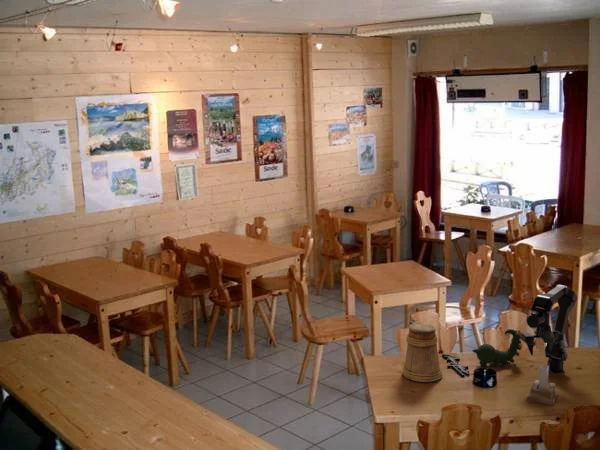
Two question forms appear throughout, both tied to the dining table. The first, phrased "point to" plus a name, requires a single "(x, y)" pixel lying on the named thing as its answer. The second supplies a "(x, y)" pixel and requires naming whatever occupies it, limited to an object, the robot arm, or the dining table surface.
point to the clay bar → (543, 377)
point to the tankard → (422, 353)
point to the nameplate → (456, 365)
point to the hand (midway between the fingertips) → (541, 354)
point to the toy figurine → (498, 352)
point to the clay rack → (542, 394)
